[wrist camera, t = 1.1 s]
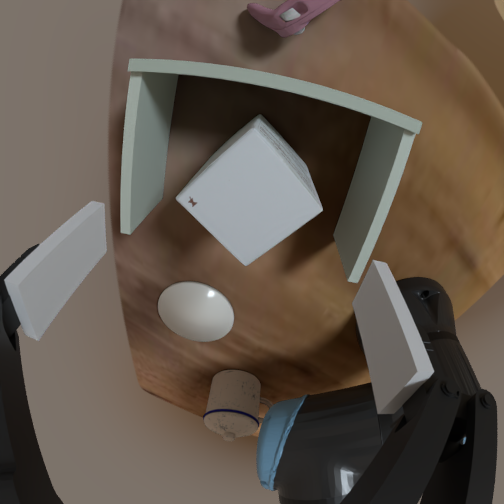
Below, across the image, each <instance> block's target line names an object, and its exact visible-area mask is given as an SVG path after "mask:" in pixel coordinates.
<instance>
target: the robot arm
mask: <svg viewBox="0 0 504 504" xmlns="http://www.w3.org/2000/svg"><path fill="white" fill-rule="evenodd" d="M106 252H107V248H106V230H105V204H104V203H100V202H94V201H91V202H90V203H89V204H87V205H86V206H85V207H84V208H82V209H81V210H80V211H79V212H77V213H76V214H75V215H74V216H73V217H71V218H70V219H69V220H68V221H67V222H65V223H64V224H63V225H62V226H61V227H59V228H58V229H57V230H56V231H55V232H54V233H53V234H52V235H51V236H49V237H48V238H47V239H46V240H45V241H44V242H42V243H41V244H37V245H35V246H33V247H31V248H29V249H28V250H27V251H26V252H25V253H23V254H22V255H21V257H20V258H18V259H17V260H16V261H15V263H13V264H12V265H11V266H10V267H9V268H8V269H7V270H6V271H5V272H4V273H3V274H2V275H1V276H0V504H63V502H62V501H61V499H60V498H59V497H58V496H57V494H56V492H55V490H54V489H53V486H52V484H51V481H50V478H49V475H48V472H47V470H46V467H45V464H44V461H43V458H42V455H41V452H40V448H39V445H38V442H37V438H36V434H35V430H34V427H33V422H32V418H31V414H30V410H29V405H28V400H27V395H26V390H25V384H24V378H23V371H22V364H21V356H20V346H19V336H18V333H17V331H16V330H17V328H18V327H19V326H20V324H21V327H22V329H23V331H24V334H25V335H27V336H29V337H31V338H33V339H35V340H37V341H39V340H40V338H41V337H42V335H43V334H44V332H45V331H46V329H47V328H48V326H49V325H50V324H51V322H52V321H53V320H54V318H55V317H56V315H57V314H58V313H59V311H60V310H61V309H62V307H63V306H64V304H65V303H66V302H67V300H68V299H69V298H70V296H71V295H72V294H73V293H74V291H75V290H76V289H77V287H78V286H79V285H80V283H81V282H82V281H83V280H84V278H85V277H86V276H87V275H88V273H89V272H90V271H91V270H92V269H93V267H94V266H95V265H96V264H97V262H98V261H99V260H100V259H101V258H102V256H103V255H104V254H105V253H106ZM352 304H353V308H354V312H355V316H356V319H357V323H356V334H357V338H358V342H359V345H360V348H361V350H362V351H363V353H364V354H365V356H366V360H367V364H368V369H369V373H370V378H371V383H366V384H362V385H358V386H354V387H349V388H345V389H340V390H335V391H330V392H325V393H320V394H315V395H304V396H302V397H300V398H295V399H290V400H285V401H280V402H278V403H276V404H274V405H273V406H272V407H271V408H270V409H269V410H268V412H267V413H266V415H265V417H264V419H263V422H262V425H261V428H260V432H259V437H258V444H257V458H256V460H257V473H258V477H259V479H260V480H261V481H260V482H261V485H262V486H263V487H264V488H265V489H269V490H271V491H275V490H278V493H279V501H280V504H417V503H418V501H419V500H420V498H421V496H422V499H421V502H420V504H492V499H493V492H494V484H495V473H496V460H497V406H496V401H495V399H494V397H493V395H492V394H491V393H490V392H488V391H487V390H484V389H481V387H480V384H479V382H478V380H477V378H476V375H475V373H474V371H473V369H472V367H471V365H470V362H469V360H468V358H467V356H466V354H465V352H464V350H463V348H462V346H461V345H460V342H459V340H458V338H457V336H456V329H455V321H454V314H453V307H452V303H451V300H450V298H449V296H448V295H447V293H446V291H445V290H444V288H443V287H442V286H441V285H440V284H439V283H438V282H436V281H434V280H432V279H429V278H423V277H414V278H408V279H403V280H400V281H397V282H396V281H395V279H394V277H393V275H392V273H391V271H390V269H389V267H388V265H387V263H384V262H380V261H375V260H373V261H372V263H371V265H370V268H369V270H368V272H367V274H366V276H365V278H364V280H363V282H362V284H361V286H360V289H359V291H358V293H357V295H356V297H355V299H354V301H353V303H352ZM422 494H423V495H422Z"/></svg>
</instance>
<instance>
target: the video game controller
mask: <svg viewBox="0 0 504 504" xmlns="http://www.w3.org/2000/svg"><path fill="white" fill-rule="evenodd" d="M338 1H340V0H287V1H286V2H284V3H283V4H282V5H280V6H279V7H278V8H276V9H275V10H271V9H268V8H266V7H263V6H261V5H259V4H255V3H250V4H248V5H247V9H248V11H249V13H250V14H251V15H252V16H253V17H254V18H255V19H256V20H257V21H259V22H260V23H261V24H263V25H265V26H266V27H268V28H270V29H272V30H274V31H276V32H277V33H278V34H279V35H280V36H281V37H288V36H290V35H292V34H294V35H298V34H301V33H302V32H303V31H304V30H305V26H306V25H307V24H308V23H309V22H310V20H311V19H312V18H314V17H316V16H317V15H319V14H321V13H322V12H324V11H325V10H327V9H328V8H330V7H331V6H332V5H334V4H335V3H337V2H338Z"/></svg>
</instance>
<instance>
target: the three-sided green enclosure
mask: <svg viewBox="0 0 504 504" xmlns="http://www.w3.org/2000/svg"><path fill="white" fill-rule="evenodd" d="M128 71H131V75H130V82H129V89H128V97H127V105H126V114H125V124H124V136H123V149H122V167H121V203H120V220H121V233H125V234H129V235H131V233H132V232H133V231H134V230H135V229H136V228H137V226H138V225H139V224H140V223H141V222H142V221H143V220H144V219H145V217H146V216H147V215H148V214H149V213H150V212H151V211H152V210H153V209H154V207H155V206H156V205H157V204H158V203H159V202H160V201H161V200H162V199H163V190H164V179H165V168H166V159H167V150H168V142H169V134H170V126H171V119H172V112H173V106H174V99H175V93H176V87H177V81H178V76H179V74H180V75H190V76H199V77H208V78H215V79H222V80H229V81H235V82H241V83H247V84H252V85H258V86H263V87H268V88H272V89H277V90H282V91H286V92H290V93H294V94H298V95H302V96H306V97H310V98H314V99H318V100H321V101H325V102H328V103H332V104H335V105H338V106H342V107H345V108H348V109H351V110H354V111H357V112H360V113H363V114H366V115H369V116H371V119H370V122H369V126H368V129H367V133H366V136H365V140H364V143H363V146H362V150H361V153H360V156H359V159H358V163H357V166H356V169H355V172H354V175H353V178H352V181H351V185H350V188H349V191H348V194H347V197H346V200H345V203H344V205H343V208H342V211H341V214H340V217H339V220H338V223H337V226H336V228H335V231H334V234H333V236H334V239H335V242H336V245H337V248H338V252H339V255H340V258H341V261H342V264H343V267H344V271H345V274H346V277H347V281H349V282H354V283H358V281H359V279H360V277H361V274H362V272H363V270H364V268H365V266H366V264H367V261H368V259H369V257H370V255H371V252H372V250H373V248H374V245H375V243H376V241H377V238H378V236H379V234H380V231H381V229H382V226H383V224H384V221H385V219H386V216H387V214H388V211H389V209H390V206H391V204H392V201H393V198H394V196H395V193H396V190H397V188H398V185H399V182H400V179H401V176H402V173H403V171H404V168H405V165H406V162H407V159H408V156H409V153H410V150H411V147H412V143H413V140H414V137H415V134H416V133H417V134H419V132H420V129H421V126H422V122H420V121H418V120H416V119H414V118H411V117H409V116H407V115H404V114H402V113H399V112H397V111H394V110H392V109H389V108H387V107H384V106H382V105H379V104H376V103H373V102H371V101H368V100H365V99H362V98H359V97H356V96H353V95H350V94H347V93H344V92H341V91H338V90H334V89H331V88H328V87H324V86H321V85H317V84H313V83H309V82H306V81H302V80H298V79H294V78H289V77H285V76H280V75H276V74H271V73H266V72H261V71H256V70H250V69H244V68H238V67H232V66H225V65H217V64H209V63H200V62H190V61H178V60H161V59H130V60H129V66H128Z"/></svg>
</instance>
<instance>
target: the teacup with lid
mask: <svg viewBox="0 0 504 504" xmlns="http://www.w3.org/2000/svg"><path fill="white" fill-rule="evenodd" d="M260 389H261V384H260V382H259V380H258V379H257V378H256V377H255V376H254V375H252V374H250V373H248V372H245V371H241V370H224V371H221V372H219V373H217V374H216V375H215V376H214V377H213V379H212V384H211V389H210V394H209V399H208V404H207V409H206V413H205V414H204V416H203V420H204V424H205V426H206V427H207V428H208V429H210V430H211V431H213V432H215V433H218V434H220V435H222V436H223V439H224V440H226V441H234V440H235V437H243V436H248V435H251V434H253V433H255V432H256V431H257V429H258V427H259V423H262V422H263V419H264V418H260V417H258V415H259V402H260V403H263V404H265V405H267V406H268V407H269V409H270V408H271V407H272V406H273V403H272V402H271V401H270V400H268V399H266V398H262V397H260Z"/></svg>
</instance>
